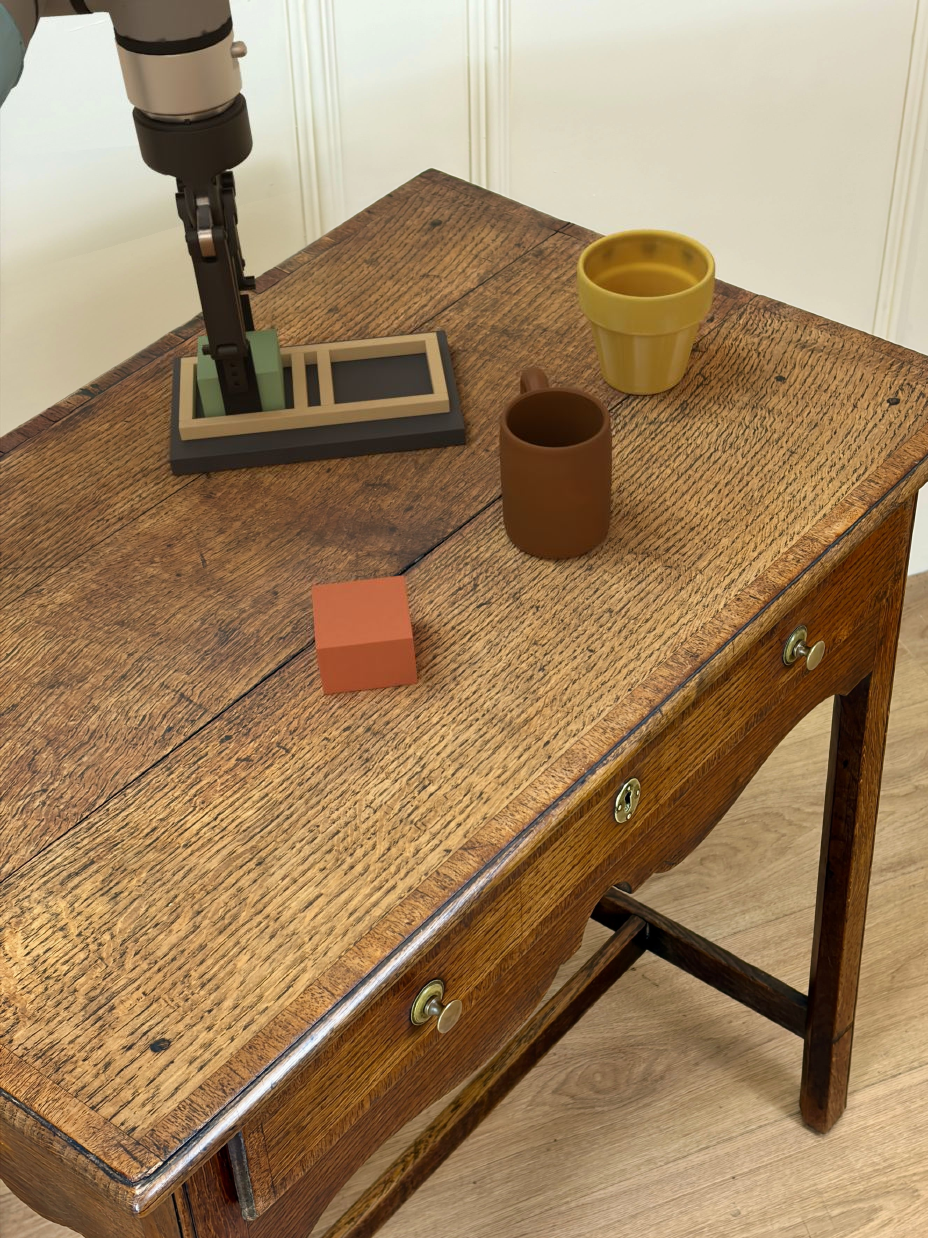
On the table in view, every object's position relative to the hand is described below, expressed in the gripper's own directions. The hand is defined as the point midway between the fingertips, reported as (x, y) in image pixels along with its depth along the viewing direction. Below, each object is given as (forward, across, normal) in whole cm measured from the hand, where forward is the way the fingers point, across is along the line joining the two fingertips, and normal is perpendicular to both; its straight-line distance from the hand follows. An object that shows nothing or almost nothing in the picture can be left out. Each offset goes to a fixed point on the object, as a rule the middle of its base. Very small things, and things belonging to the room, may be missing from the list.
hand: (245, 395), depth 114 cm
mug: (+2, -16, -21) cm, 27 cm away
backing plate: (+2, 0, -5) cm, 6 cm away
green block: (0, 0, 0) cm, 0 cm away
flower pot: (+2, 0, -31) cm, 31 cm away
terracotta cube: (+2, -29, -7) cm, 30 cm away
